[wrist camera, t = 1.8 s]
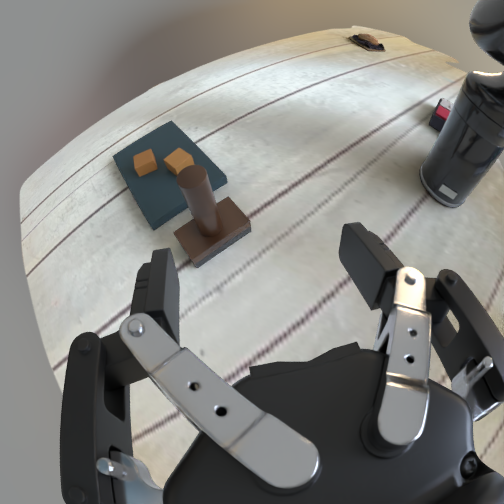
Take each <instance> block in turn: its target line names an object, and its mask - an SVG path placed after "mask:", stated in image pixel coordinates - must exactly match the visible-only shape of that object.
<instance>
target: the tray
mask: <svg viewBox="0 0 504 504" xmlns="http://www.w3.org/2000/svg"><path fill="white" fill-rule="evenodd" d="M178 148H181V149H182V150H184V151H185V152H187V153H188V154H190V155H191V156H192V158H193V161H194V164H195V165H200V166H202V167H204V168H205V169H206V171H207V175H208V178H209V181H210V185H211V188H212V191H214V190H216V189H218V188H219V187H221V186H223V185H224V184H226V183H227V178H226V175H225V174H224V173H223V172H222V171H221V170H220V169H219V168H218V167H217V166H216V165H215V164H214V163H213V162H212V161H211V160H210V159H209V158H208V157H207V156H206V155H205V154H204V153H203V152H202V151H201V150H200V149H199V148H198V146H197V145H196V144H195V143H194V142H193V141H192V140H191V139H190V138H189V137H188V136H187V135H186V134H185V133H184V132H183V131H182V130H181V129H179V128H178V127H177V126H176V125H175V124H174V123H173V122H172V121H169V122H168V123H166V124H164V125H162V126H160V127H159V128H157V129H155V130H153V131H152V132H150V133H148V134H147V135H145V136H143V137H142V138H140V139H138V140H137V141H135V142H134V143H132V144H130V145H129V146H127V147H126V148H124V149H123V150H121V151H120V152H118V153H117V154H115V155H114V156H113V158H114V160H115V162H116V164H117V166H118V168H119V170H120V172H121V174H122V176H123V178H124V180H125V181H126V183H127V185H128V187H129V189H130V191H131V193H132V194H133V196H134V198H135V200H136V202H137V203H138V205H139V207H140V209H141V210H142V212H143V214H144V216H145V217H146V219H147V221H148V223H149V224H150V226H151V227H152V229H153V230H155V229H157V228H158V227H160V226H161V225H162V224H164V223H165V222H167V221H168V220H170V219H171V218H173V217H174V216H176V215H177V214H179V213H180V212H182V211H183V210H185V209H186V208H188V206H187V203H186V201H185V199H184V197H183V195H182V193H181V190H180V188H179V186H178V184H177V176H176V175H175V174H174V173H173V172H171V171H170V170H169V169H168V168H167V167H166V164H165V162H164V159H165V158H166V157H167V156H169V155H170V154H171V153H173V152H174V151H175V150H177V149H178ZM149 149H151V150H152V152H153V154H154V156H155V160H156V164H157V170H155V171H152V172H150V173H148V174H145V175H143V176H141V177H139V175H138V173H137V172H136V170H135V167H134V159H133V156H135V155H137V154H139V153H142V152H144V151H146V150H149Z"/></svg>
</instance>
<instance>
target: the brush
mask: <svg viewBox="0 0 504 504" xmlns="http://www.w3.org/2000/svg"><path fill="white" fill-rule="evenodd" d="M177 184H178V186H179V188H180V190H181V193H182V195H183V197H184V199H185V201H186V203H187V206H188V208H189V210H190V212H191V214H192V216H193V218H194V219H193V220H191V221H190V222H188V223H187V224H185V225H184V226H182V227H181V228H179V229H178V230H176V231H175V232H174V235H175V236H176V238H177V239H178V241H179V242H180V244H181V245H182V247H183V248H184V250H185V251H186V253H187V254H188V256H189V257H190V259H191V260H192V262H193V263H194V265H195V266H196V268H198V267H200V266H201V265H203V264H204V263H206V262H207V261H208V260H210V259H211V258H213V257H214V256H216V255H217V254H219V253H220V252H221V251H223V250H224V249H226V248H227V247H229V246H230V245H232V244H233V243H235V242H236V241H237V240H239V239H240V238H242V237H243V236H245V235H246V234H248V233H249V232H251V225H250V220H249V219H248V218H247V217H246V215H245V214H244V213H243V212H242V211H241V210H240V209H239V208H238V207H237V205H236V204H235V203H234V202H233V201H232V200H231V199H230V198H229V197H227V198H225V199H223V200H222V201H220V202H219V203H217V204H216V201H215V198H214V194H213V191H212V188H211V185H210V181H209V178H208V175H207V171H206V169H205V168H204V167H202V166H200V165H190V166H187V167H185V168H183V169H182V170H181V171H180V172H179V173H178V175H177Z"/></svg>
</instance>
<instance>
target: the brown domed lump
mask: <svg viewBox="0 0 504 504" xmlns="http://www.w3.org/2000/svg"><path fill="white" fill-rule="evenodd" d="M349 38H350V39H351V40H352V41H354V42H356V44H358V45H360V46H361V47H363V48H365V49H367V50H368V51H385V49H383V48H384V46H383V45H382V44H381V43H380V44H379V42H378V41H377V40H376V38H375V37H373V36H371V35H369V34H358V35H353V36H352V37H349Z"/></svg>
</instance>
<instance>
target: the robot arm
mask: <svg viewBox="0 0 504 504" xmlns="http://www.w3.org/2000/svg"><path fill="white" fill-rule="evenodd" d="M469 26H470V32H471V35H472V37H473V39H474V41H475V43H476V44H477V45H478V46H479V47H480V48H481V49H482V50H483V51H484V52H485V53H487V54H488V55H489V56H490V57H492V58H493V59H494V60H496V61H498V62H499V63H500V64H502V65H504V0H478V2H477V3H476V5H475V6H474V8H473V10H472V12H471V16H470V22H469ZM503 150H504V71H503V72H501V73H495V74H493V73H485V72H479V71H471V72H469V73H468V74H467V75H466V77H465V79H464V82H463V84H462V87H461V89H460V91H459V94H458V96H457V98H456V100H455V103H454V105H453V107H452V109H451V111H450V113H449V116H448V118H447V120H446V122H445V124H444V126H443V128H442V130H441V132H440V134H439V136H438V138H437V139H436V141H435V143H434V145H433V147H432V149H431V151H430V152H429V154H428V156H427V158H426V160H425V161H424V162H423V164H422V166H421V168H420V178H421V181H422V183H423V185H424V187H425V188H426V190H427V191H428V192H429V193H430V194H431V196H432V197H434V198H435V199H436V200H437V201H438V202H440V203H442V204H444V205H446V206H448V207H459V206H461V205H462V204H463V203H464V201H465V200H466V198H467V197H468V196H469V194H470V193H471V192H472V191H473V190H474V188H475V187H476V186H477V185H478V184H479V182H480V181H481V180H482V178H483V177H484V176H485V175H486V173H487V172H488V171H489V169H490V168H491V167H492V165H493V164H494V163H495V161H496V160H497V158H498V157H499V156H500V154H501V153H502V151H503ZM339 258H340V261H341V263H342V264H343V266H344V268H345V269H346V271H347V272H348V274H349V275H350V277H351V278H352V280H353V282H354V283H355V285H356V286H357V288H358V290H359V291H360V293H361V294H362V296H363V298H364V299H365V301H366V302H367V304H368V306H369V307H370V309H371V310H375V309H378V308H381V310H382V312H381V314H380V319H379V324H378V329H377V334H376V338H375V343H374V347H373V350H370V349H360V347H359V345H358V343H357V342H354V343H351V344H347V345H344V346H340V347H337V348H333V349H331V350H329V351H328V352H326V353H324V354H322V355H320V356H318V357H316V358H314V359H313V360H311V361H307V362H273V363H268V364H263V365H258V366H252V367H249V369H250V375H248V376H246V377H244V378H242V379H240V380H238V381H237V382H236V383H234V384H233V385H232V386H230V385H229V384H228V383H226V382H225V381H224V380H223V379H222V378H221V377H219V376H218V375H217V374H216V373H215V372H214V371H212V370H211V369H210V368H209V367H208V366H207V365H206V364H205V363H203V362H202V361H201V360H200V359H199V358H198V357H197V356H196V355H195V354H194V353H192V352H191V351H190V350H189V349H188V348H186V347H184V348H181V347H180V343H179V291H180V287H179V278H178V274H177V270H176V267H175V263H174V260H173V256H172V252H171V250H170V248H166V249H159V250H154V251H153V253H152V259H151V262H150V263H144V264H143V265H142V266H141V268H140V269H139V271H138V273H137V278H136V283H135V290H134V293H133V299H132V305H131V311H130V316H129V317H127V318H126V319H125V320H124V321H123V322H122V323H121V325H120V328H119V331H117V332H115V333H113V334H110V335H108V336H105V337H103V338H99V337H98V336H97V335H96V334H95V333H93V332H85V333H82V334H80V335H79V336H77V337H76V338H75V339H74V340H73V342H72V344H71V346H70V351H69V357H68V362H67V369H66V375H65V383H64V391H63V400H62V411H61V412H62V413H61V428H60V476H61V489H62V496H63V499H64V501H65V503H66V504H504V477H503V476H502V475H500V474H499V473H497V472H496V471H494V470H492V469H491V468H489V467H488V466H487V465H485V464H484V463H483V462H482V461H481V460H480V459H479V458H478V456H477V454H476V452H475V448H474V441H473V422H474V421H479V420H481V419H482V418H483V417H485V416H486V415H488V414H489V413H491V412H492V411H493V410H495V409H496V408H497V407H499V406H500V405H501V404H503V403H504V338H503V336H502V335H501V333H500V331H499V330H498V328H497V327H496V325H495V324H494V322H493V321H492V319H491V318H490V316H489V315H488V313H487V312H486V310H485V309H484V308H483V306H482V305H481V303H480V302H479V301H478V299H477V298H476V297H475V295H474V294H473V293H472V291H471V290H470V289H469V287H468V286H467V285H466V283H465V282H464V281H463V280H462V278H461V277H460V276H459V275H458V274H457V273H456V272H454V271H452V270H448V269H443V270H441V271H440V272H439V274H438V276H437V278H425V277H424V276H423V274H422V273H421V272H420V271H418V270H417V269H414V268H412V267H404V266H403V264H402V263H401V262H400V261H399V260H398V258H397V257H396V256H395V255H394V254H393V252H392V251H391V250H389V248H388V247H387V246H386V244H384V242H383V241H382V240H381V239H380V238H379V237H378V236H377V235H375V234H374V233H372V232H371V231H367V229H366V228H365V227H364V226H363V225H362V224H361V223H360V222H356V223H348V224H344V226H343V229H342V235H341V241H340V247H339ZM449 310H451V311H452V313H453V314H454V316H455V317H456V319H457V320H458V322H459V331H458V333H457V332H456V330H455V329H454V327H453V325H452V324H451V322H450V321H449V319H448V318H447V316H446V315H447V313H448V312H449ZM431 343H432V345H433V347H434V349H435V351H436V352H437V354H438V356H439V358H440V360H441V362H442V364H443V366H444V368H445V370H446V372H447V374H448V376H449V378H450V380H451V382H452V384H451V387H452V390H449V389H448V388H446V387H444V386H442V385H440V384H438V383H437V382H435V381H433V380H431V379H429V378H428V377H429V367H430V354H431ZM147 377H149V378H150V379H151V380H152V382H153V383H154V384H155V385H156V386H157V388H158V389H159V390H160V391H161V392H162V393H163V394H164V395H165V397H166V398H167V399H168V400H169V401H170V402H171V403H172V404H173V405H174V406H175V408H176V409H177V410H178V411H179V412H180V413H181V414H182V415H183V416H184V417H185V418H186V419H187V420H188V421H189V422H190V423H191V424H192V425H193V426H194V427H195V428H196V429H197V430H198V431H199V434H198V435H197V437H196V438H195V440H194V441H193V443H192V444H191V446H190V447H189V449H188V450H187V452H186V453H185V455H184V456H183V458H182V459H181V461H180V462H179V464H178V465H177V466H176V468H175V469H174V471H173V472H172V474H171V475H170V477H169V478H168V480H167V481H166V483H165V486H164V489H162V488H160V487H159V486H157V485H156V484H155V483H154V481H153V480H152V478H151V476H150V472H149V470H148V468H147V467H146V465H145V464H144V463H143V462H141V461H140V460H138V459H136V458H134V457H133V448H132V436H131V419H130V384H131V383H134V382H137V381H139V380H142V379H145V378H147Z"/></svg>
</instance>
